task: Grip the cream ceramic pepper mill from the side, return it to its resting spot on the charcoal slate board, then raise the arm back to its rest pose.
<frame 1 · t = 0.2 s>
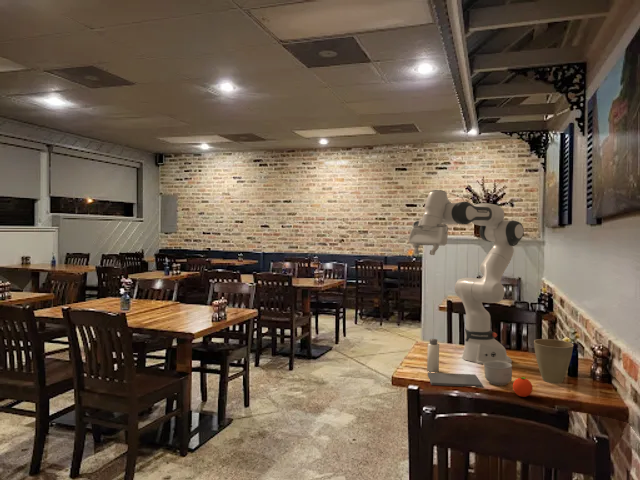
hand: (424, 254, 216), 51 cm above the table, tool tilted 15°, fingers open, 8 cm apart
clementine: (522, 396, 185), on the table
slate board: (453, 380, 203), on the table
plant pot: (552, 381, 204), on the table
teacup: (498, 382, 202), on the table
pepper mill: (432, 371, 216), on the table
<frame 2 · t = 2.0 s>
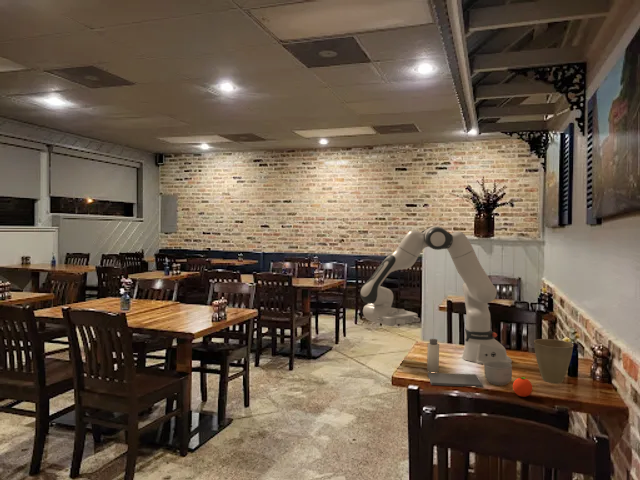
hand: (412, 321, 225), 20 cm above the table, tool horizontal, fingers open, 8 cm apart
nothing on the table moved.
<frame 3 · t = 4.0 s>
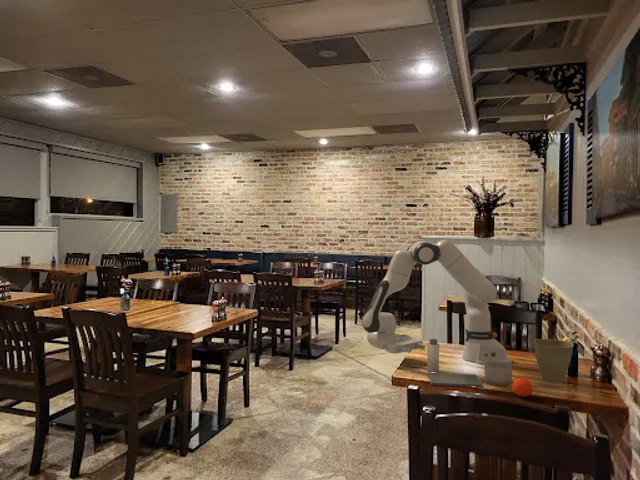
hand: (417, 349, 223), 8 cm above the table, tool horizontal, fingers open, 8 cm apart
nothing on the table moved.
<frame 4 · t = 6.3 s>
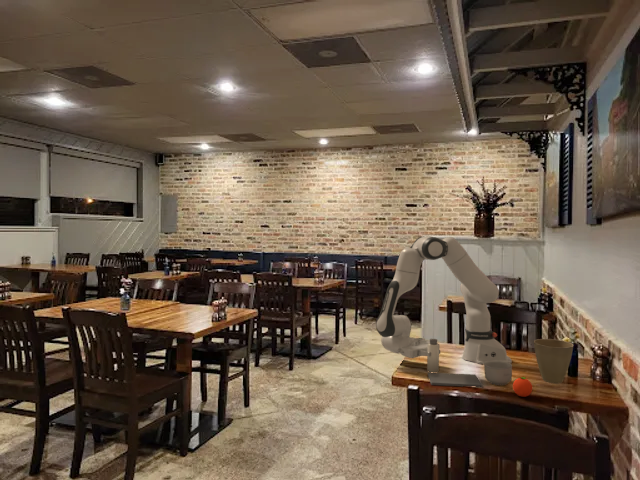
hand: (434, 353, 215), 8 cm above the table, tool horizontal, fingers closed on pepper mill, 5 cm apart
pepper mill: (432, 371, 216), on the table, touching gripper
everything else where it was.
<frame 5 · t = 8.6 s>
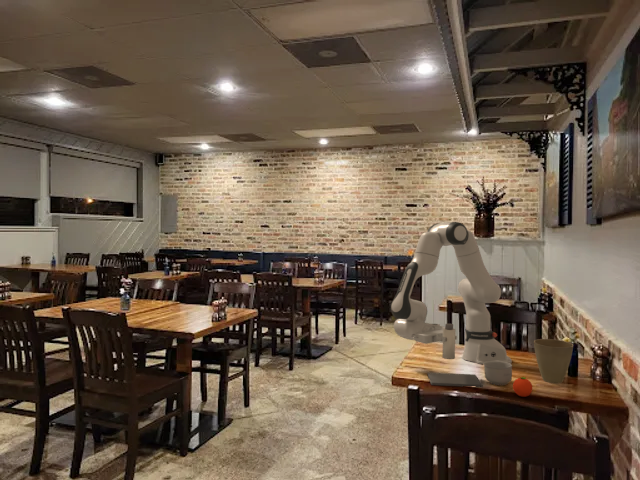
hand: (450, 338, 204), 17 cm above the table, tool horizontal, fingers closed on pepper mill, 5 cm apart
pepper mill: (448, 357, 205), point 9 cm above the table, touching gripper
everything else where it was.
when the fingers open (10 cm above the table, at t = 10.8 s): pepper mill drops 1 cm, resting on slate board.
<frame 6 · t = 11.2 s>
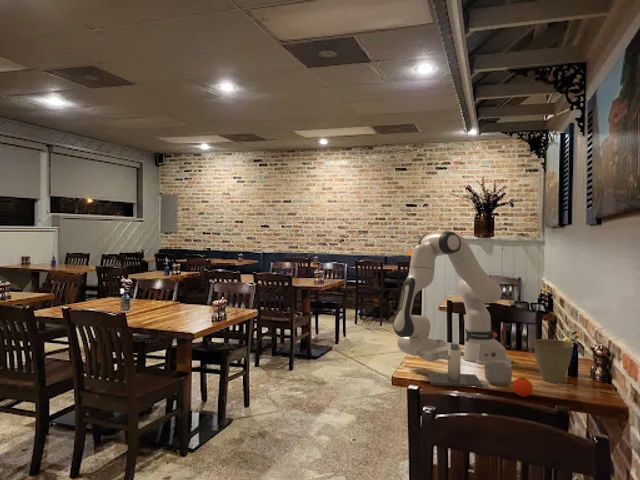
hand: (456, 356, 202), 10 cm above the table, tool horizontal, fingers open, 8 cm apart
pepper mill: (453, 378, 203), point 1 cm above the table, touching slate board
everything else where it was.
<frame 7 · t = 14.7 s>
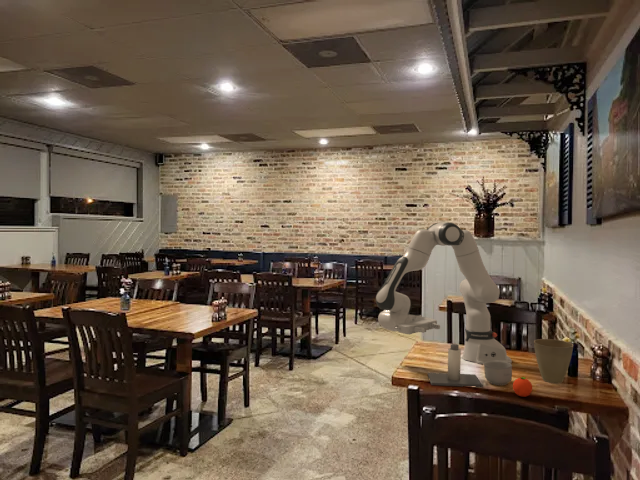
hand: (432, 328, 212), 20 cm above the table, tool horizontal, fingers open, 8 cm apart
nothing on the table moved.
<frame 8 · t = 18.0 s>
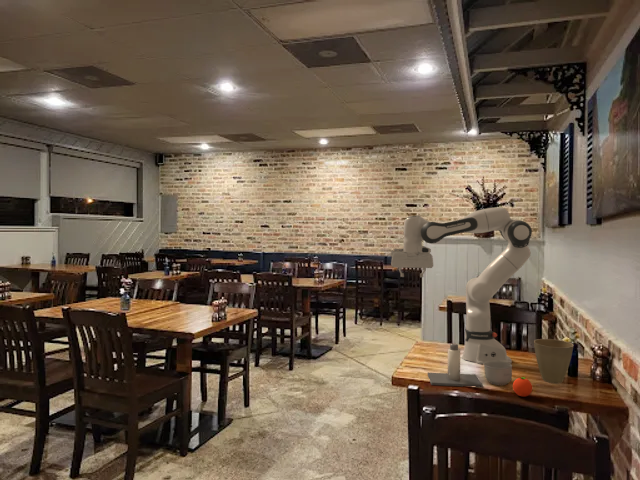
hand: (411, 277, 240), 39 cm above the table, tool pointing down, fingers open, 8 cm apart
nothing on the table moved.
at the end: pepper mill inside the target area on the slate board (0.0 cm from its centre), point 1.0 cm above the slate board's base; pepper mill tilted 1°; the gripper is holding nothing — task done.
